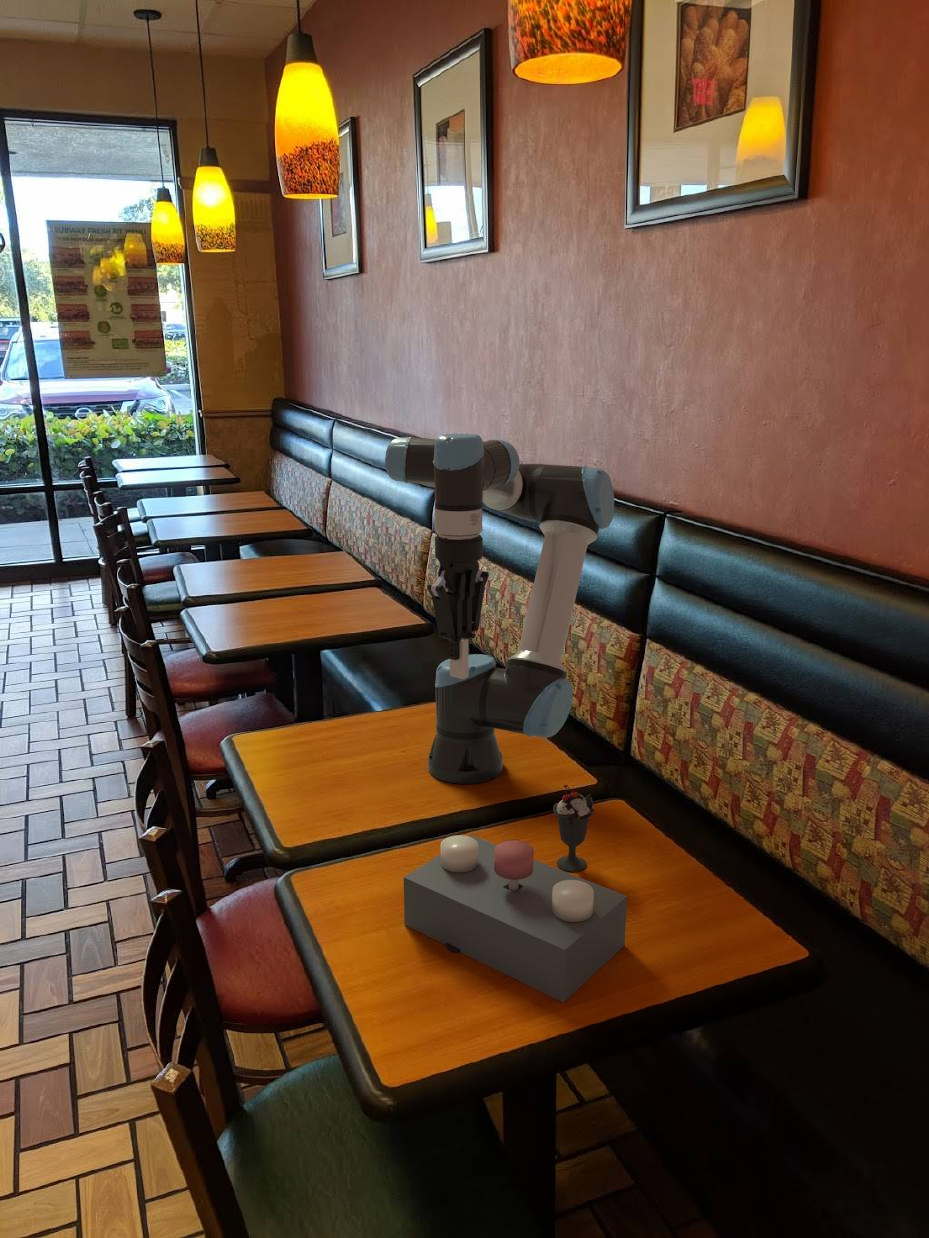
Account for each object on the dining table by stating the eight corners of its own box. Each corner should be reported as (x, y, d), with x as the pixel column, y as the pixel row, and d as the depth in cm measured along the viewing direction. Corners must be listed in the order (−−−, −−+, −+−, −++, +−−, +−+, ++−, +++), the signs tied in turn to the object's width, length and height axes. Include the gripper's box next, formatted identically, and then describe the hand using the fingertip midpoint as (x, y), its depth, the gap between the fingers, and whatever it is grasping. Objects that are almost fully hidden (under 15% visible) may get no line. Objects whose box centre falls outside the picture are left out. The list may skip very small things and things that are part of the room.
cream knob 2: (565, 923, 138) (567, 875, 136) (599, 938, 135) (601, 889, 133) (543, 942, 134) (544, 892, 132) (577, 957, 131) (579, 907, 128)
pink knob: (509, 883, 144) (509, 836, 141) (540, 897, 140) (541, 848, 138) (486, 900, 139) (486, 851, 137) (517, 914, 136) (518, 864, 134)
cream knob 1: (456, 876, 150) (456, 831, 148) (485, 889, 147) (485, 843, 145) (433, 892, 146) (432, 846, 144) (462, 905, 143) (462, 858, 141)
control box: (471, 879, 156) (471, 834, 154) (624, 945, 139) (627, 896, 137) (404, 924, 144) (403, 877, 142) (563, 1002, 127) (564, 949, 125)
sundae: (546, 870, 158) (549, 787, 154) (557, 851, 164) (559, 770, 160) (586, 878, 156) (589, 793, 152) (595, 858, 162) (599, 776, 158)
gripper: (450, 544, 145) (451, 692, 152) (502, 531, 155) (501, 670, 161) (413, 538, 149) (415, 682, 156) (466, 525, 159) (466, 661, 166)
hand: (459, 676), depth 159 cm, fingers closed
